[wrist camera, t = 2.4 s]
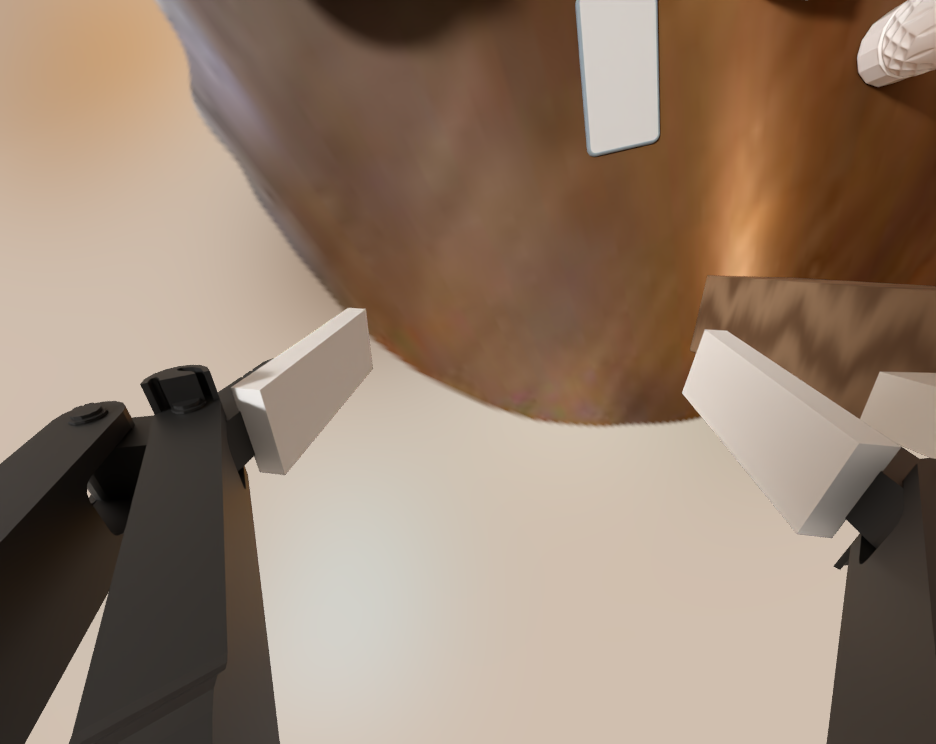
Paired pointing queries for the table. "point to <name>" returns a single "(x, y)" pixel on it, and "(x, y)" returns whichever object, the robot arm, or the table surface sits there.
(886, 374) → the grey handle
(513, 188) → the table surface
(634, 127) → the smartphone
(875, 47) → the white cup
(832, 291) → the tall stand
